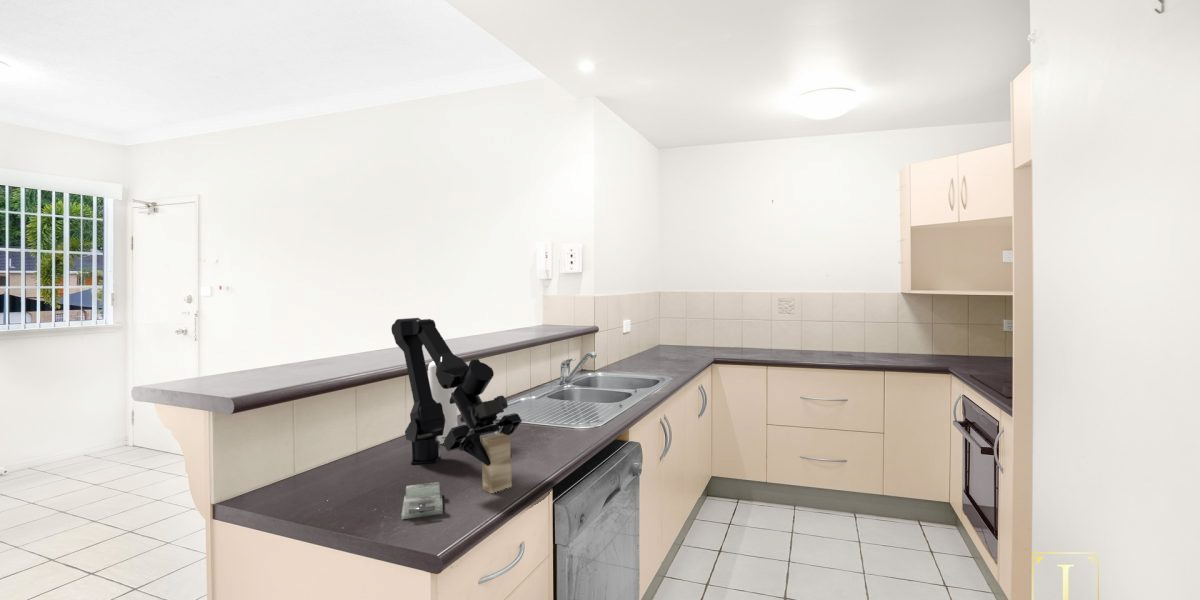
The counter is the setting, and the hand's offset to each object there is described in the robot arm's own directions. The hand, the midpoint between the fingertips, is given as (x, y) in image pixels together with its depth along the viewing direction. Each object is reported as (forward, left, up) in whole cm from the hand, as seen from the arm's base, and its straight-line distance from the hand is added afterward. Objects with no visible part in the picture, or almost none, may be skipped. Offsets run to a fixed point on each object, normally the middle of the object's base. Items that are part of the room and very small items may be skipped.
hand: (500, 461), depth 127 cm
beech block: (-1, +1, -7) cm, 7 cm away
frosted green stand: (-16, -7, -7) cm, 19 cm away
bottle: (-20, +45, -7) cm, 50 cm away
